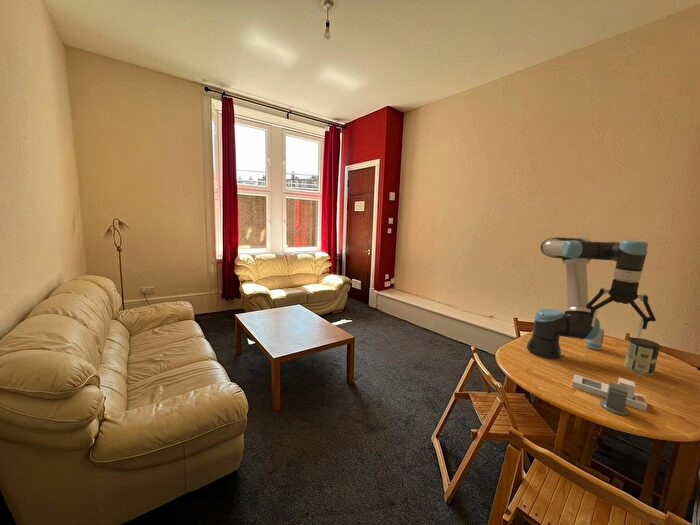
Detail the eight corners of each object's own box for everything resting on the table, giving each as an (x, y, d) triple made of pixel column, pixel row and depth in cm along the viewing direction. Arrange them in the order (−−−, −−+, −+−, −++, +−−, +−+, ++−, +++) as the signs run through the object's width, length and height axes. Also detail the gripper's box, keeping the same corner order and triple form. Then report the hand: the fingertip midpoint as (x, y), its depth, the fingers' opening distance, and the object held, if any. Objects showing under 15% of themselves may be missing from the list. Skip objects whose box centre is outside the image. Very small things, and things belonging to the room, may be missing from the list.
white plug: (616, 395, 112) (619, 382, 111) (616, 390, 115) (619, 377, 114) (632, 400, 109) (635, 386, 108) (631, 395, 112) (634, 381, 111)
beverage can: (584, 344, 162) (588, 324, 160) (600, 347, 158) (604, 327, 156) (585, 348, 157) (589, 328, 155) (602, 352, 153) (606, 331, 151)
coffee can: (642, 365, 140) (648, 338, 138) (660, 376, 130) (667, 348, 128) (618, 362, 142) (623, 336, 140) (634, 373, 132) (640, 345, 130)
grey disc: (600, 408, 107) (600, 406, 106) (600, 398, 113) (600, 396, 112) (629, 418, 101) (629, 416, 101) (627, 407, 107) (628, 406, 107)
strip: (572, 386, 120) (573, 380, 119) (573, 377, 127) (574, 371, 126) (645, 411, 106) (647, 404, 105) (643, 399, 113) (644, 392, 112)
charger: (605, 400, 110) (609, 381, 109) (622, 406, 107) (626, 386, 106) (605, 406, 107) (609, 387, 105) (623, 412, 103) (627, 392, 102)
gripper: (584, 275, 116) (575, 324, 120) (675, 288, 99) (660, 344, 104) (585, 272, 121) (576, 319, 125) (671, 284, 105) (658, 337, 109)
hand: (614, 330), depth 114 cm, fingers open, 13 cm apart
